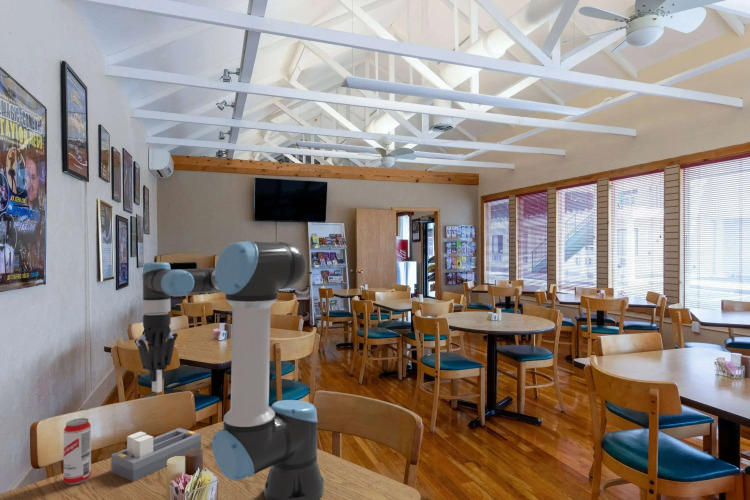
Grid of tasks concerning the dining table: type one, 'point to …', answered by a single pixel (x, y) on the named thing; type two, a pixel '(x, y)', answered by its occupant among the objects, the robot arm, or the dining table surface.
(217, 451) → the robot arm
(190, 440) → the switch bank
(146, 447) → the tab
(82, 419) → the beer can
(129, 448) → the tab
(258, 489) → the dining table surface
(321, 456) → the dining table surface
